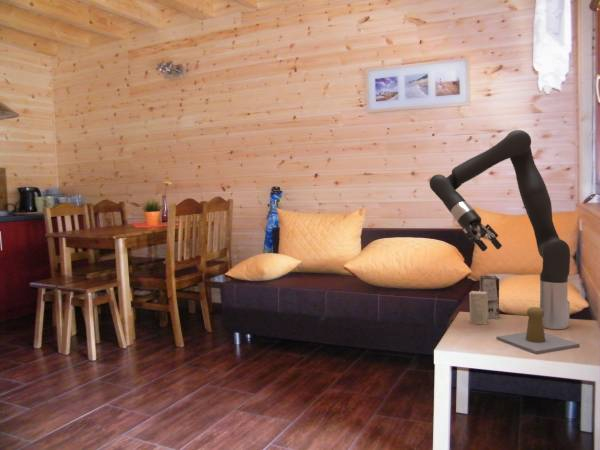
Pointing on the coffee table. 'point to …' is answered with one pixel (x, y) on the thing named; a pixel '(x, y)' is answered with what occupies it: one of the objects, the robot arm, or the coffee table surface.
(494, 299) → the coffee box
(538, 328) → the cork
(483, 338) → the coffee table surface
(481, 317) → the skincare box
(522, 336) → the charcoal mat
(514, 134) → the robot arm
